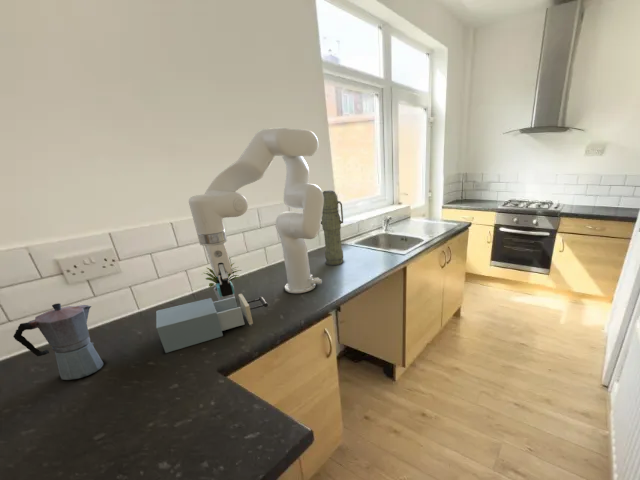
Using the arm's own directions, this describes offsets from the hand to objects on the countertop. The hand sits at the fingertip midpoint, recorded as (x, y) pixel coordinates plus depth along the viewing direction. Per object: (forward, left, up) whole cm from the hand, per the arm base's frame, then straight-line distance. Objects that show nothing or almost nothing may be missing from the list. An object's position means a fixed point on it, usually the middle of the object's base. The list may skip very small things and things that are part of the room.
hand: (226, 291), depth 103 cm
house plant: (+9, -16, -12) cm, 22 cm away
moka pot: (+33, +22, -12) cm, 41 cm away
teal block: (0, 0, 0) cm, 0 cm away
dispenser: (+11, +6, -12) cm, 17 cm away
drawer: (-1, -1, -11) cm, 11 cm away
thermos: (-29, -58, -12) cm, 66 cm away
